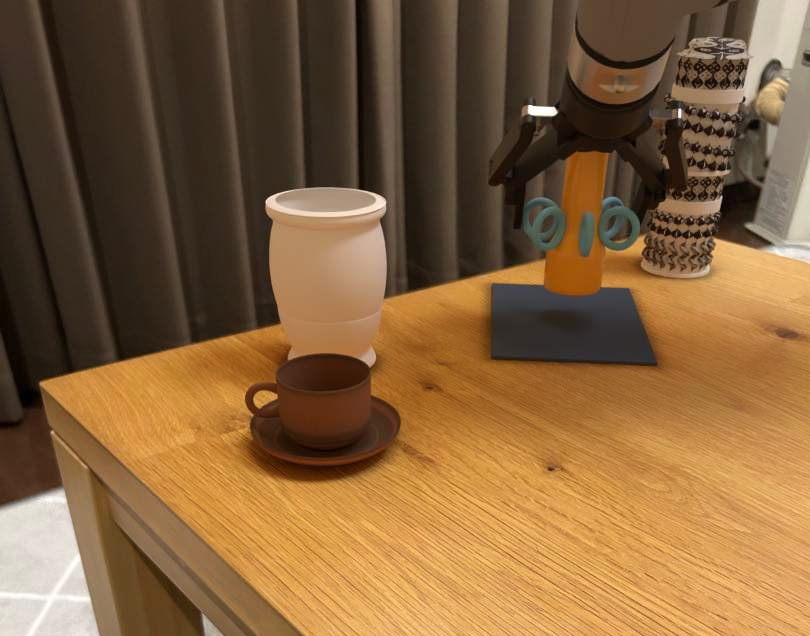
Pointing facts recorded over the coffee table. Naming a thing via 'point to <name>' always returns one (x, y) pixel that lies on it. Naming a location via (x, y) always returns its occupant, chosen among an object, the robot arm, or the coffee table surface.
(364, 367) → the cup and saucer
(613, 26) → the robot arm
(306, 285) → the jar
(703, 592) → the coffee table surface
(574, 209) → the cylinder
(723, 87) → the decorative candle
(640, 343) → the dark grey flat rectangle
